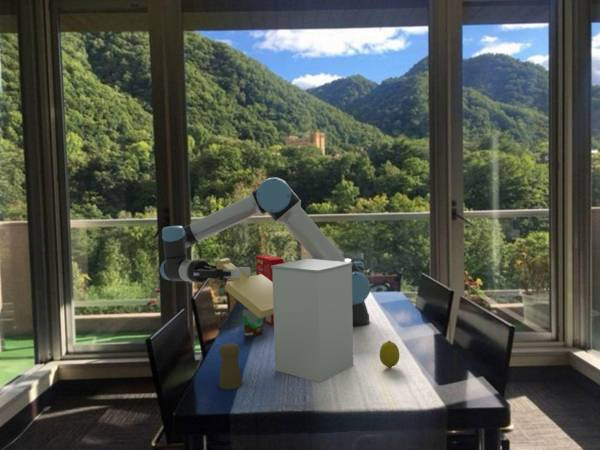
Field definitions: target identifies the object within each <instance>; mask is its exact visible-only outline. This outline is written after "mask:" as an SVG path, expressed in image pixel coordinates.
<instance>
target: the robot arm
mask: <svg viewBox="0 0 600 450" xmlns="http://www.w3.org/2000/svg"><path fill="white" fill-rule="evenodd" d="M301 203H302V200H301V198H300V197H299V196H298V195H297V194H296V193H295V192H294V190H293V189H292V188H291V187H290V185H289V184H288V182H286V181H285V180H284V179H282V178H279V177H274V176H273V177H268V178H266V179H265V180H263V181H262V182H261V183H260V184H259V185H258V186H257V188H256V189H253V190H252V191H251V192H250V195H247V196H246V197H243V198H241V199H240V200H237V201H235V202H233V203H231V204H229V205H227V206H225V207H222V208H221V209H219V210H217V211H214V212H212V213H210V214H208V215H207V216H204V217H201V218H200V219H198V220H196V221H194V222H191V223H190V224H188V225H186V226H183V225H171V226H165V227H163V228H162V230H161V232H162V233H161V235H162V236H161V238H162V239H161V240H162V244H163V251H164V252H163V253H164V261H162V263H160V264H161V265H160V268H159V272H160V275H161V278H163V279H164V280H167V281H171V282H188V283H189V284H192V283H193V282H194V283H204V282H206V281H207V280H208V279H214V280H216V279H218V278H219V280H220V281H223V280H224V278H225V279H229V278H240V270H241V271H242V272H243V273H245V274H246V275H247V276H249V277H252V275H251V274H252V273H251V267H249V266H248V267H247V266H240V265H238V264H234V265H235V266H236V267H237V268H238V269H224V271H223V270H222V269H217V268H216V266H217V265H214V264H210V263H209V262H208V261H207V260H204V259H188V258H187V257H188V256H187V249H188V248H190V247H191V246H193V245H195V244H198V243H200V242H201V241H203V240H206V239H208V238H210V237H212V236H214V235H216V234H218V233H220V232H222V231H225V230H226V229H229V228H231V227H233V226H235V225H237V224H240V223H241V222H244V221H245V220H248V219H250V218H252V217H254V216H257V215H265V214H268V215H269V216H270V217H271V218H272V219H273V220H274V222H275V223H281V224H283V226H284V227H285V228H286V229H287V230H288V231H289V233H290V235H292V236H293V237H294V238H295V239H296V240H297V242H298V243H299V244H300V245H301V246H302V247H303V248H304V250H305V251H306V253H308V255H309V256H310V257H311V259H317V260H328V261H340V262H352V263H353V265H352V313H353V327H358V326H359V327H360V326H364V325H365V326H366V325H367V324H369V323H370V314H369V312H368V309H367V305H366V302H365V301H366V299H367V298H368V297H369V295H370V291H371V284H370V283H371V282H370V279H369V278H368V276H367V275H366V274H365V269H366V268H365V265H364V262H362V261H354V260H352V258H345V257H344V256H343V254H342V253H341V252H340V251H339V250H338V249H337V247H336V246H335V245H334V244H333V243H332V242H331V240H330V239H329V238H328V237H327V236H326V234H324V233H323V231H322V230H321V229H320V228H319V227H318V225H317V224H316V223H315V222H314V221H313V219H312V218H311V217H310V216H309V215H308V213H306V211H305V210H304V209H303V208H302V206H301V205H302V204H301Z"/></svg>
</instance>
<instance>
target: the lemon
mask: <svg viewBox="0 0 600 450" xmlns="http://www.w3.org/2000/svg"><path fill="white" fill-rule="evenodd" d="M379 359H380V362H381V363H382V364H383V366H385V367H387V368H388V369H391V368H393V367H395V366H396V365H397V364H398V363H399V360H400V350H399V348H398V346H397V344H396V343H395V342H392V341H391V340H387V341H385V342H384V343H383V344H382V345H381V346H380V349H379Z"/></svg>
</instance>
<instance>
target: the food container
mask: <svg viewBox="0 0 600 450" xmlns="http://www.w3.org/2000/svg"><path fill="white" fill-rule="evenodd" d="M242 317H243V320H242V321H243V331H244V332H243V333H244V338H256V337H259V336H262V335H263V332H264V331H263V328H264V321H263V318H259V317H257V316H256V315H255V314H254V313H253V312H251V311H250V310H249V309H248V308H247V307H246V309H242Z"/></svg>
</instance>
